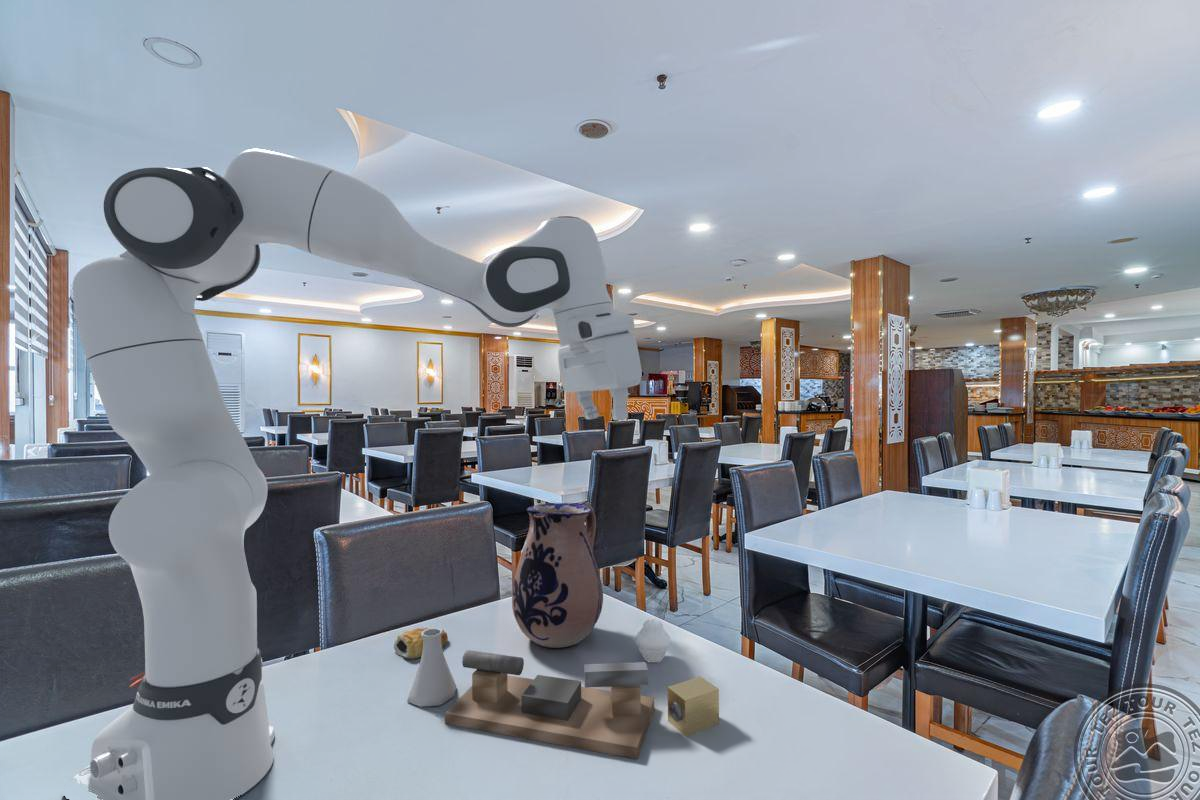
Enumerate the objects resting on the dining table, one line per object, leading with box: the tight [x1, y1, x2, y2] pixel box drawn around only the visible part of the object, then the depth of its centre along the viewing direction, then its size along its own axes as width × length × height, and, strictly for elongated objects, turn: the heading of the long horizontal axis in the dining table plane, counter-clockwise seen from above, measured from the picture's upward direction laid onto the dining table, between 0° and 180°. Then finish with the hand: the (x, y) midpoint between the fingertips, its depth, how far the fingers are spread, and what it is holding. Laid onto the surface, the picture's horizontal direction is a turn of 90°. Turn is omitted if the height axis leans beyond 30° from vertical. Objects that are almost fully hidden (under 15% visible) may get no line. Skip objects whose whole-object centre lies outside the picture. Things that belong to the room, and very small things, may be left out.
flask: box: [407, 627, 457, 708], centre depth 85 cm, size 7×7×10 cm
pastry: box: [393, 627, 449, 660], centre depth 101 cm, size 9×7×4 cm
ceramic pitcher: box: [511, 501, 604, 649], centre depth 107 cm, size 18×21×25 cm
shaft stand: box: [444, 649, 655, 760], centre depth 80 cm, size 28×12×8 cm, turn 74°
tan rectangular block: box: [667, 676, 720, 737], centre depth 78 cm, size 7×4×5 cm, turn 119°
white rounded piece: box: [635, 618, 671, 663], centre depth 97 cm, size 6×6×7 cm
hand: (605, 419), depth 82 cm, fingers open, 8 cm apart
